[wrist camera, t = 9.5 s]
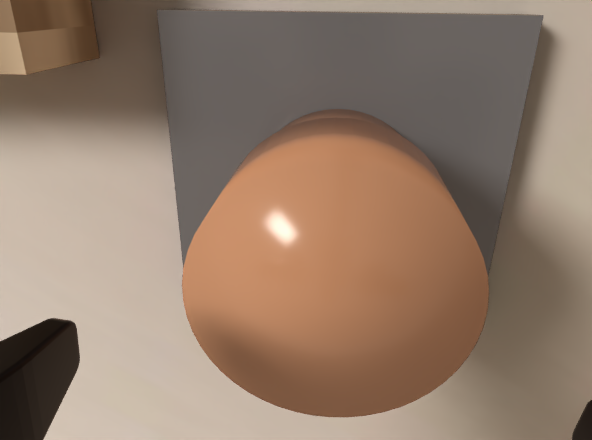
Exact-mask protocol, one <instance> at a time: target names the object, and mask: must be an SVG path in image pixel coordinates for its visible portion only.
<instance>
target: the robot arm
mask: <svg viewBox="0 0 592 440" xmlns="http://www.w3.org/2000/svg"><path fill="white" fill-rule="evenodd" d="M79 361H80V354H79V345H78V336H77V328H76V325H75V323H74V322H72V321H70V320H63V319H56V318H51V319H47V320H45V321H43V322H41V323H39V324H36V325H34V326H32V327H30V328H28V329H26V330H24V331H22V332H19V333H17V334H15V335H13V336H11V337H9V338H7V339H4V340H2V341H0V440H43V439H44V437H45V435H46V433H47V431H48V429H49V427H50V425H51V423H52V421H53V419H54V417H55V415H56V412H57V410H58V408H59V406H60V404H61V402H62V400H63V398H64V396H65V394H66V392H67V390H68V388H69V386H70V384H71V382H72V380H73V378H74V376H75V374H76V371H77V369H78V366H79ZM572 440H592V400H591V401H589V402H588V404H587V405H586V407H585V409H584V411H583V413H582V415H581V417H580V419H579V421H578V423H577V425H576V427H575V429H574V432H573V436H572Z"/></svg>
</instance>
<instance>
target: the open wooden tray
mask: <svg viewBox="0 0 592 440" xmlns="http://www.w3.org/2000/svg"><path fill="white" fill-rule="evenodd" d="M96 58H100V57H99V51H98V45H97V38H96V32H95V25H94V19H93V12H92V6H91V0H0V74H18V75H27V74H32V73H36V72H40V71H45V70H49V69H53V68H57V67H62V66H66V65H70V64H75V63H79V62H83V61H88V60H92V59H96Z"/></svg>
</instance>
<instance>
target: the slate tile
mask: <svg viewBox="0 0 592 440" xmlns="http://www.w3.org/2000/svg"><path fill="white" fill-rule="evenodd" d="M157 16H158V25H159V35H160V45H161V55H162V64H163V74H164V84H165V94H166V103H167V113H168V123H169V133H170V143H171V152H172V162H173V172H174V182H175V191H176V201H177V211H178V221H179V230H180V240H181V250H182V260H183V268H184V264H185V259H186V255H187V251H188V249H189V246H190V244H191V242H192V239H193V237H194V235H195V233H196V231H197V230H198V228H199V226H200V225H201V223H202V221H203V220H204V218H205V217H206V215H207V214H208V212H209V210H210V209H211V207H212V206H213V204H214V203H215V201H216V200H217V198H218V197H219V195H220V194H221V192H222V190H223V189H224V187H225V186H226V184H227V183H228V181H229V180H230V178H231V177H232V175H233V173H234V172H235V170H236V169H237V167H238V166H239V164H240V163H241V162H242V161H243V160H244V158H245V157H246V156H247V155H248V153H250V152H251V151H252V150H253V149H254V148H255V147H256V146H257V145H258V144H259V143H261V142H262V141H264V140H265V139H267V138H268V137H270V136H271V135H272V134H274V133H276V132H278V131H280V130H281V129H282V128H283V127H285V126H286V125H287V124H289V123H290V122H292V121H294V120H296V119H298V118H300V117H302V116H304V115H307V114H310V113H313V112H316V111H321V110H328V109H348V110H354V111H359V112H363V113H366V114H369V115H371V116H374V117H376V118H378V119H380V120H382V121H383V122H385V123H386V124H388V125H389V126H391V127H392V128H393V129H394V130H395V131H396V132H398V133H399V134H400V135H401V136H403V137H404V138H406V139H407V140H409V141H410V142H412V143H413V144H414V145H415V146H416V147H417V148H419V149H420V150H421V151H422V152H423V153H424V154H425V155H426V156H427V157H428V159H429V160H430V161H431V162H432V163H433V165H434V166H435V167H436V169H437V171H438V172H439V174H440V176H441V177H442V179H443V181H444V183H445V184H446V186H447V188H448V190H449V192H450V194H451V195H452V197H453V199H454V201H455V203H456V205H457V206H458V208H459V210H460V212H461V214H462V215H463V217H464V219H465V221H466V223H467V225H468V226H469V228H470V230H471V232H472V234H473V236H474V237H475V239H476V241H477V244H478V246H479V248H480V251H481V253H482V256H483V258H484V262H485V266H486V270H487V275H489V270H490V266H491V261H492V256H493V252H494V247H495V242H496V237H497V233H498V228H499V223H500V218H501V214H502V209H503V204H504V200H505V195H506V190H507V185H508V181H509V176H510V171H511V167H512V162H513V157H514V152H515V148H516V143H517V138H518V133H519V129H520V124H521V119H522V115H523V110H524V105H525V100H526V96H527V91H528V86H529V82H530V77H531V72H532V67H533V63H534V58H535V53H536V48H537V44H538V39H539V34H540V30H541V25H542V20H543V15H531V14H461V13H391V12H320V11H250V10H180V9H165V10H157Z"/></svg>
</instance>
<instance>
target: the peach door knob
mask: <svg viewBox="0 0 592 440" xmlns="http://www.w3.org/2000/svg"><path fill="white" fill-rule="evenodd" d="M182 289H183V301H184V306H185V310H186V315H187V318H188V321H189V323H190V326H191V329H192V331H193V333H194V335H195V337H196V339H197V341H198V342H199V344H200V346H201V347H202V349H203V350H204V352H205V353H206V354H207V356H208V357H209V359H210V360H211V361H212V362H213V363H214V364H215V365H216V366H217V367H218V368H219V370H220V371H221V372H222V373H224V374H225V375H226V376H227V377H228V378H229V379H231V380H232V381H233V382H234V383H236V384H237V385H239V386H240V387H241V388H243V389H244V390H246V391H247V392H249V393H251V394H253V395H255V396H256V397H258V398H260V399H262V400H264V401H266V402H269V403H271V404H274V405H276V406H278V407H282V408H285V409H288V410H291V411H295V412H299V413H304V414H309V415H315V416H325V417H355V416H366V415H371V414H376V413H382V412H385V411H389V410H392V409H395V408H399V407H401V406H404V405H406V404H408V403H411V402H413V401H415V400H417V399H419V398H421V397H423V396H425V395H426V394H428V393H430V392H431V391H433V390H434V389H436V388H437V387H438V386H440V385H441V384H443V383H444V382H445V381H446V380H447V379H448V378H449V377H450V376H452V375H453V374H454V373H455V372H456V371H457V370H458V369H459V367H460V366H461V365H462V364H463V363H464V361H465V360H466V359H467V358H468V356H469V355H470V353H471V351H472V350H473V348H474V346H475V345H476V343H477V341H478V339H479V336H480V334H481V332H482V329H483V327H484V323H485V319H486V315H487V311H488V300H489V285H488V275H487V270H486V266H485V262H484V258H483V256H482V253H481V251H480V248H479V246H478V244H477V241H476V239H475V237H474V236H473V234H472V232H471V230H470V228H469V226H468V225H467V223H466V221H465V219H464V217H463V215H462V214H461V212H460V210H459V208H458V206H457V205H456V203H455V201H454V199H453V197H452V195H451V194H450V192H449V190H448V188H447V186H446V184H445V183H444V181H443V179H442V177H441V176H440V174H439V172H438V171H437V169H436V167H435V166H434V165H433V163H432V162H431V161H430V160H429V159H428V157H427V156H426V155H425V154H424V153H423V152H422V151H421V150H420V149H419V148H417V147H416V146H415V145H414V144H413V143H412V142H410V141H409V140H407V139H406V138H404V137H403V136H401V135H400V134H399V133H398V132H396V131H395V130H394V129H393V128H392V127H391V126H389V125H388V124H386V123H385V122H383V121H382V120H380V119H378V118H376V117H374V116H371V115H369V114H366V113H363V112H359V111H354V110H348V109H328V110H321V111H316V112H313V113H310V114H307V115H304V116H302V117H300V118H298V119H296V120H294V121H292V122H290V123H289V124H287V125H286V126H285V127H283V128H282V129H281V130H280V131H278V132H276V133H274V134H272V135H271V136H270V137H268V138H267V139H265V140H264V141H262V142H261V143H259V144H258V145H257V146H256V147H255V148H254V149H253V150H252V151H251V152H250V153H248V155H247V156H246V157H245V158H244V160H243V161H242V162H241V163H240V164H239V166H238V167H237V169H236V170H235V172H234V173H233V175H232V177H231V178H230V180H229V181H228V183H227V184H226V186H225V187H224V189H223V190H222V192H221V194H220V195H219V197H218V198H217V200H216V201H215V203H214V204H213V206H212V207H211V209H210V210H209V212H208V214H207V215H206V217H205V218H204V220H203V221H202V223H201V225H200V226H199V228H198V230H197V231H196V233H195V235H194V237H193V239H192V242H191V244H190V246H189V249H188V251H187V255H186V259H185V264H184V268H183V280H182Z"/></svg>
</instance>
